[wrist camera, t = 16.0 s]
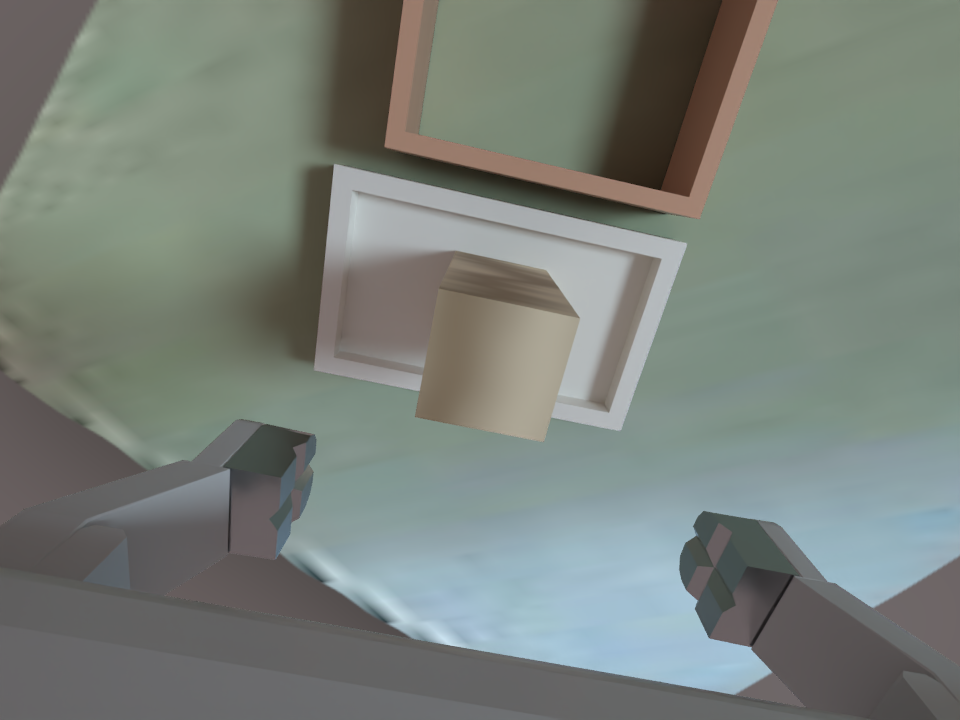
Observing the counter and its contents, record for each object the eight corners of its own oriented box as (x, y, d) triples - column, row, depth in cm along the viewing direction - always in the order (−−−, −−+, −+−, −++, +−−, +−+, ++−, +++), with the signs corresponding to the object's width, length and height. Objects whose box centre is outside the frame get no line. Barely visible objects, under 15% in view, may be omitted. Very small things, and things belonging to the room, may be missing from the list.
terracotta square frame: (783, -131, 21) (850, -201, 17) (668, 214, 26) (699, 219, 22) (452, -223, 20) (445, -319, 16) (399, 152, 25) (384, 146, 21)
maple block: (546, 270, 26) (580, 318, 16) (524, 354, 28) (543, 442, 18) (456, 250, 26) (438, 288, 16) (439, 337, 27) (414, 416, 18)
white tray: (672, 239, 26) (687, 243, 24) (612, 415, 30) (620, 431, 28) (345, 165, 25) (334, 163, 23) (325, 358, 29) (314, 370, 27)
